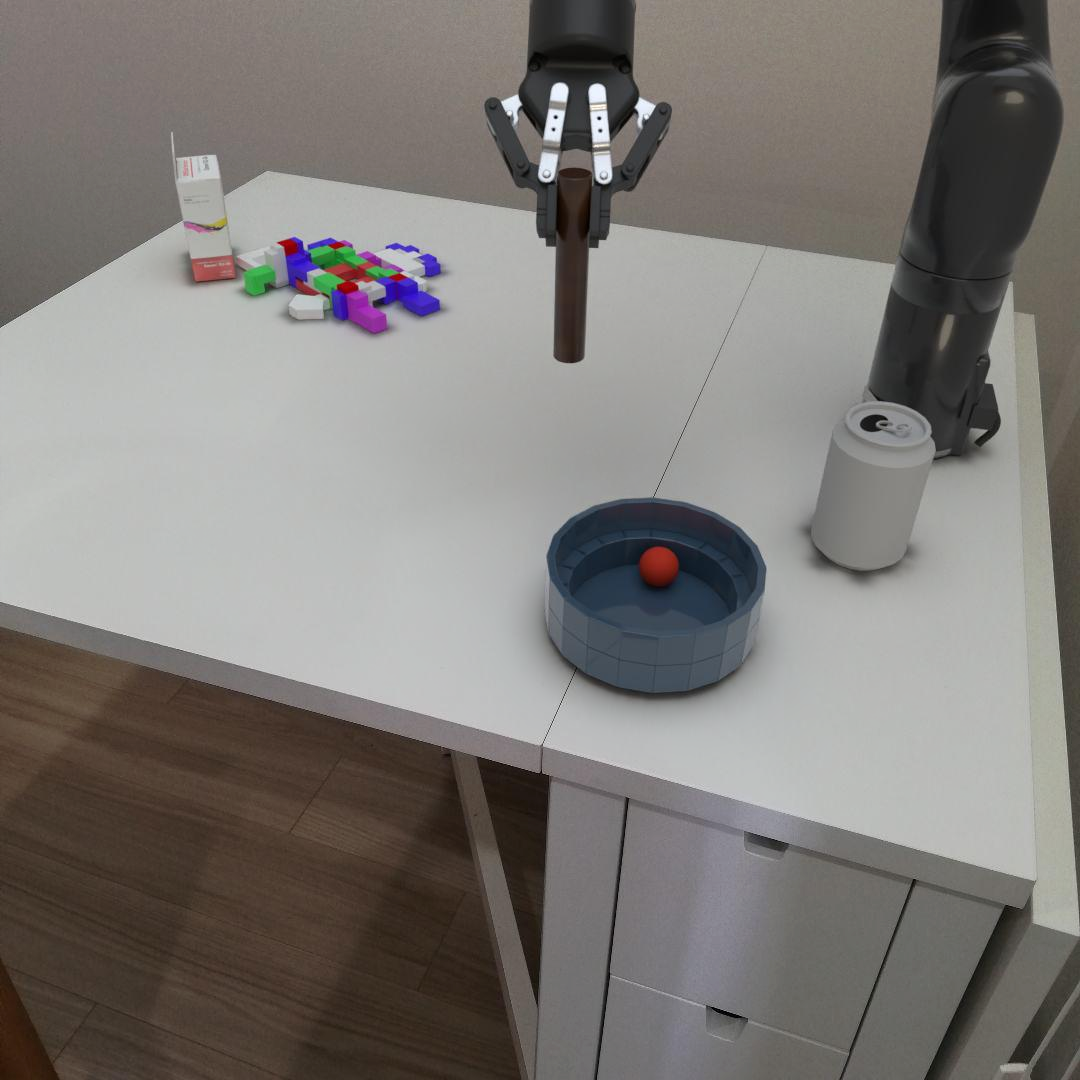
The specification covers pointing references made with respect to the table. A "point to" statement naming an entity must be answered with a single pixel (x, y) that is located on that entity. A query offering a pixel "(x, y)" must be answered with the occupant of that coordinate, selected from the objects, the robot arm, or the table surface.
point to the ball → (658, 566)
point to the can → (872, 485)
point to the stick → (571, 263)
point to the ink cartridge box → (204, 216)
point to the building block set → (343, 279)
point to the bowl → (653, 595)
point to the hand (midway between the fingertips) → (572, 242)
